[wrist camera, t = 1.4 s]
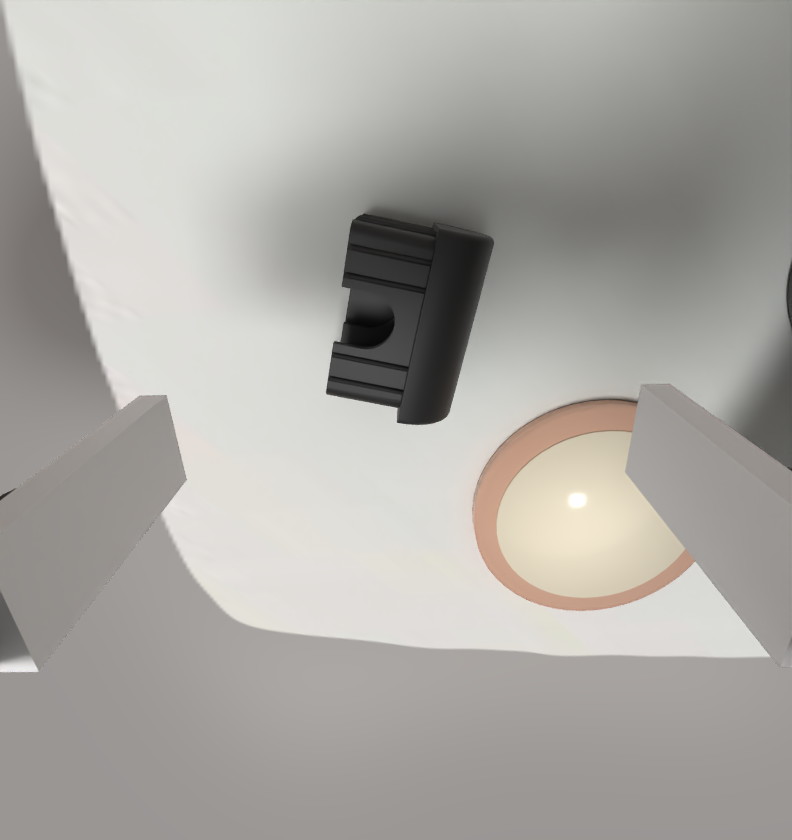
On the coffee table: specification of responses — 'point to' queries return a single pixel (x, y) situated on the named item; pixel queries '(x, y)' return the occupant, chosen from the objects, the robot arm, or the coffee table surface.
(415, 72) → the coffee table surface
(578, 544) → the plate
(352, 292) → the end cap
